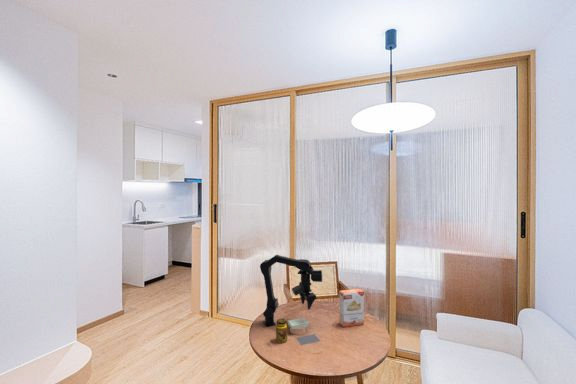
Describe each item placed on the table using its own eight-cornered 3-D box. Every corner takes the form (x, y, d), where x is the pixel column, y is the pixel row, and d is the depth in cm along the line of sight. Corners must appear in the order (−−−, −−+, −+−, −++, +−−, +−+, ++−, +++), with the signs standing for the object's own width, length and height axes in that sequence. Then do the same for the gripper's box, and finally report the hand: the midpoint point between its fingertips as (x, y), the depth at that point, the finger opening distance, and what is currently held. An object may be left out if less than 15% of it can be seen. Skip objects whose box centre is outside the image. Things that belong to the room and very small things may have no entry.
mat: (295, 339, 160) (295, 337, 160) (314, 335, 164) (314, 334, 164) (301, 346, 152) (301, 345, 152) (320, 342, 156) (320, 340, 156)
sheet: (287, 323, 170) (287, 320, 170) (304, 321, 173) (304, 317, 173) (291, 329, 163) (291, 325, 163) (308, 326, 166) (308, 322, 166)
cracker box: (343, 328, 172) (343, 293, 172) (339, 323, 178) (339, 290, 178) (364, 324, 176) (364, 291, 176) (359, 320, 182) (359, 287, 182)
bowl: (288, 330, 171) (288, 323, 171) (302, 327, 174) (302, 320, 174) (293, 337, 162) (293, 329, 162) (308, 334, 165) (308, 327, 165)
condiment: (283, 346, 153) (283, 324, 153) (270, 342, 157) (270, 321, 157) (290, 340, 159) (290, 318, 159) (277, 336, 163) (277, 315, 163)
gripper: (288, 278, 181) (288, 302, 181) (298, 287, 163) (299, 314, 163) (304, 276, 184) (304, 300, 184) (316, 285, 167) (316, 311, 167)
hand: (305, 306), depth 174 cm, fingers open, 9 cm apart
